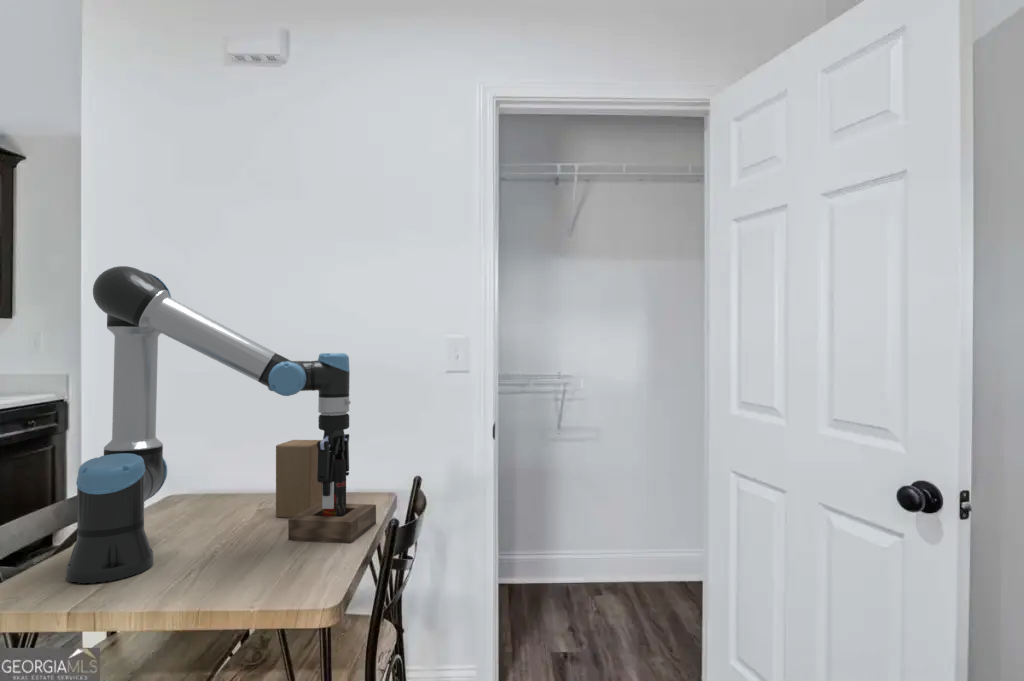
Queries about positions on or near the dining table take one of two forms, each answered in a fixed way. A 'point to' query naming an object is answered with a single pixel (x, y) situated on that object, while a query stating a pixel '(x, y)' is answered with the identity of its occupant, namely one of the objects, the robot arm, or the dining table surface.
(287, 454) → the wooden block
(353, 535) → the socket block
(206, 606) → the dining table surface
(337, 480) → the deodorant
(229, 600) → the dining table surface
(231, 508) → the dining table surface
